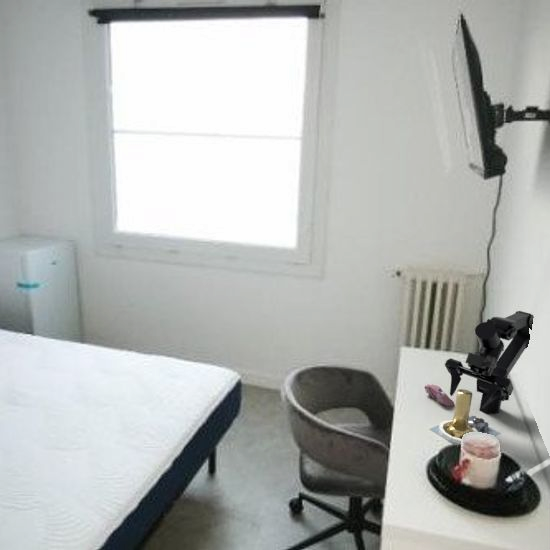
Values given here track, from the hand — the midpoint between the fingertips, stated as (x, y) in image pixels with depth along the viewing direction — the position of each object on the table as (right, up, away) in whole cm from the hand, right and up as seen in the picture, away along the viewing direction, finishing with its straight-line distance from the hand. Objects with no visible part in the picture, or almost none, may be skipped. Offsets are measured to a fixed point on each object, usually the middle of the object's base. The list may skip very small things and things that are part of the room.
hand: (465, 401), depth 145 cm
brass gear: (-2, -10, +1) cm, 10 cm away
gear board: (+1, -10, +3) cm, 11 cm away
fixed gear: (+5, -9, +6) cm, 12 cm away
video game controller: (-1, -6, +21) cm, 22 cm away
